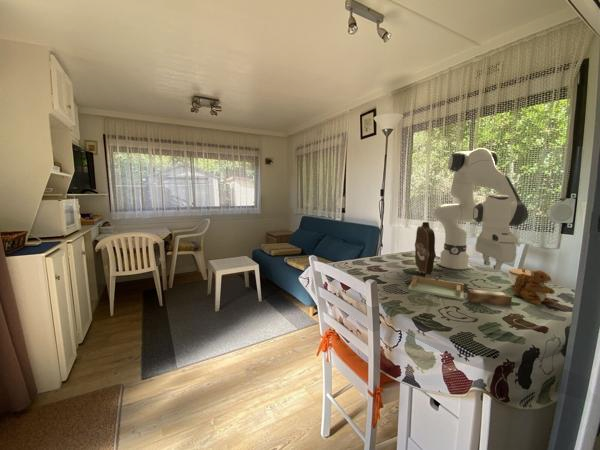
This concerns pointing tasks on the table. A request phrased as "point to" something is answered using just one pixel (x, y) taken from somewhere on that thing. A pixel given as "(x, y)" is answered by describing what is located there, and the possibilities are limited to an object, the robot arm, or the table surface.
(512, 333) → the table surface
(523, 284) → the stuffed squirrel
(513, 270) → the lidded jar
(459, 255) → the robot arm
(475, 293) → the brown rectangular block
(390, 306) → the table surface
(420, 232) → the decorative plaque
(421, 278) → the shallow tray
